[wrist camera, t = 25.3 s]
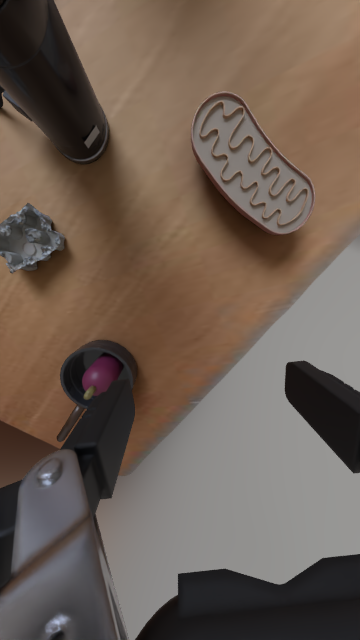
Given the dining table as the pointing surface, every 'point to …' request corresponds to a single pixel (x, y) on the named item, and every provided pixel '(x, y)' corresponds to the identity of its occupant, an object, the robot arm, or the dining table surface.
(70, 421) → the pan handle
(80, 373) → the pan
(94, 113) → the robot arm
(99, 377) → the purple eggplant
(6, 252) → the grey irregular chunk
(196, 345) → the dining table surface
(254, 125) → the anatomical model
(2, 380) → the dining table surface
